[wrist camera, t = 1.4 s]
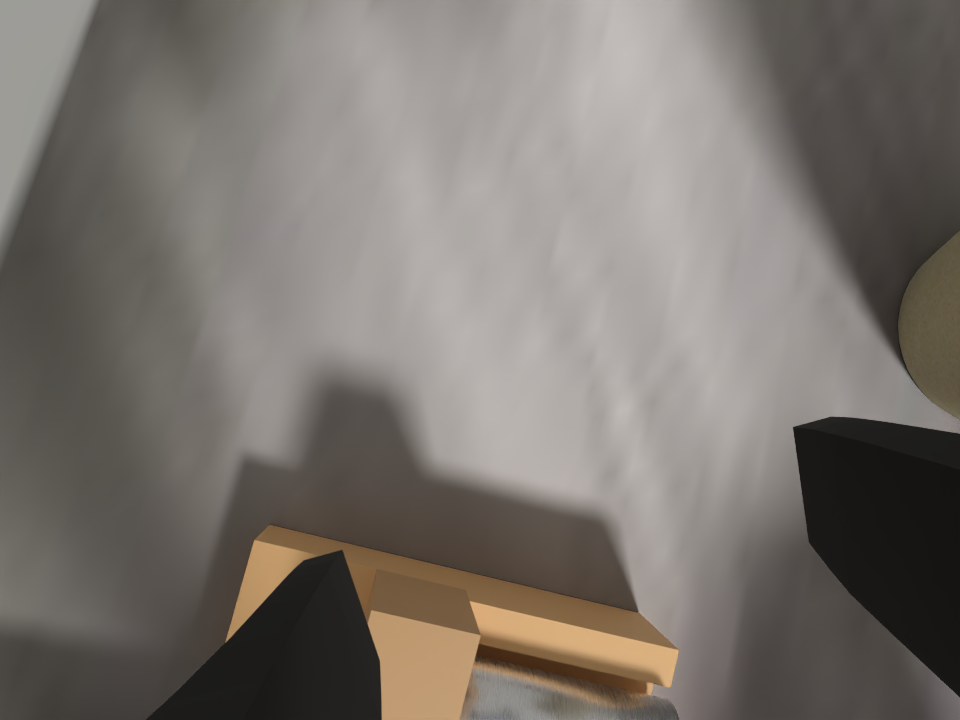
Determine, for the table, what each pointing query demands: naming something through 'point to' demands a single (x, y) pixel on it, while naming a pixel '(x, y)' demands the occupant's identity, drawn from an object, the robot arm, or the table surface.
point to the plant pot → (934, 327)
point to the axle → (552, 697)
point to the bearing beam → (464, 625)
